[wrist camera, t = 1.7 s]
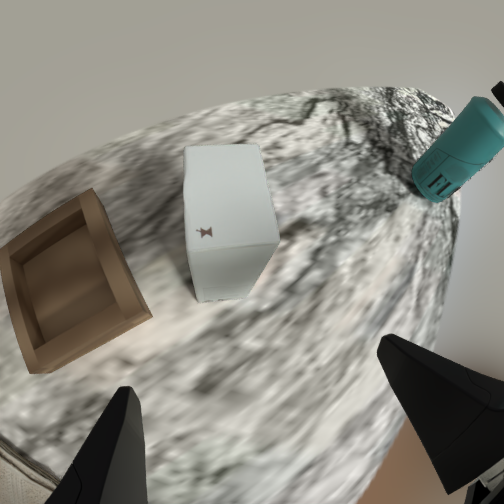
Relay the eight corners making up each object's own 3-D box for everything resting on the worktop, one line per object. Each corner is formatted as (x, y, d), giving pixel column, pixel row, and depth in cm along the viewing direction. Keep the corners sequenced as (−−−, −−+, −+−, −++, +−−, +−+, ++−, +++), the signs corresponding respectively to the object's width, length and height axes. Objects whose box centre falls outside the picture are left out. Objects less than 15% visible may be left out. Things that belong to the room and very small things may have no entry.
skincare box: (248, 298, 23) (283, 246, 12) (197, 304, 22) (183, 255, 11) (238, 232, 25) (261, 140, 14) (191, 236, 24) (180, 144, 13)
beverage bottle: (407, 201, 30) (512, 95, 11) (400, 162, 32) (483, 60, 14) (441, 215, 30) (542, 131, 12) (434, 177, 33) (516, 92, 14)
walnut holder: (153, 316, 21) (143, 310, 18) (50, 373, 18) (29, 374, 14) (103, 206, 24) (92, 187, 21) (16, 262, 20) (-3, 250, 17)
